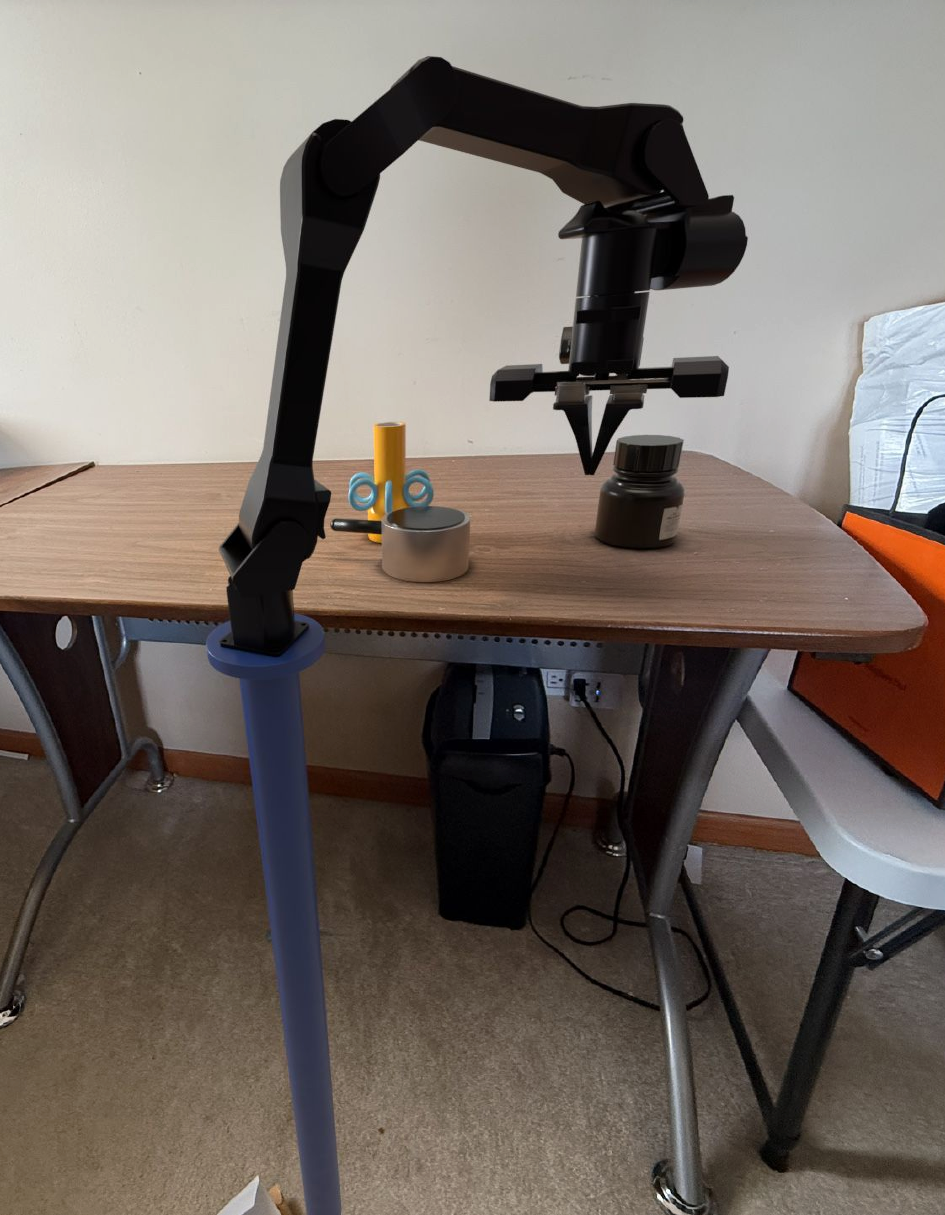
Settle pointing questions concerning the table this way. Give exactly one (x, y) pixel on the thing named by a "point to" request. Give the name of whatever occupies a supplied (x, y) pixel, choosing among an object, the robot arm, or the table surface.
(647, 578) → the table surface
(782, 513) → the table surface
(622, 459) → the ink bottle
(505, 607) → the table surface
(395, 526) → the pot
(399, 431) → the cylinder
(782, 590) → the table surface
